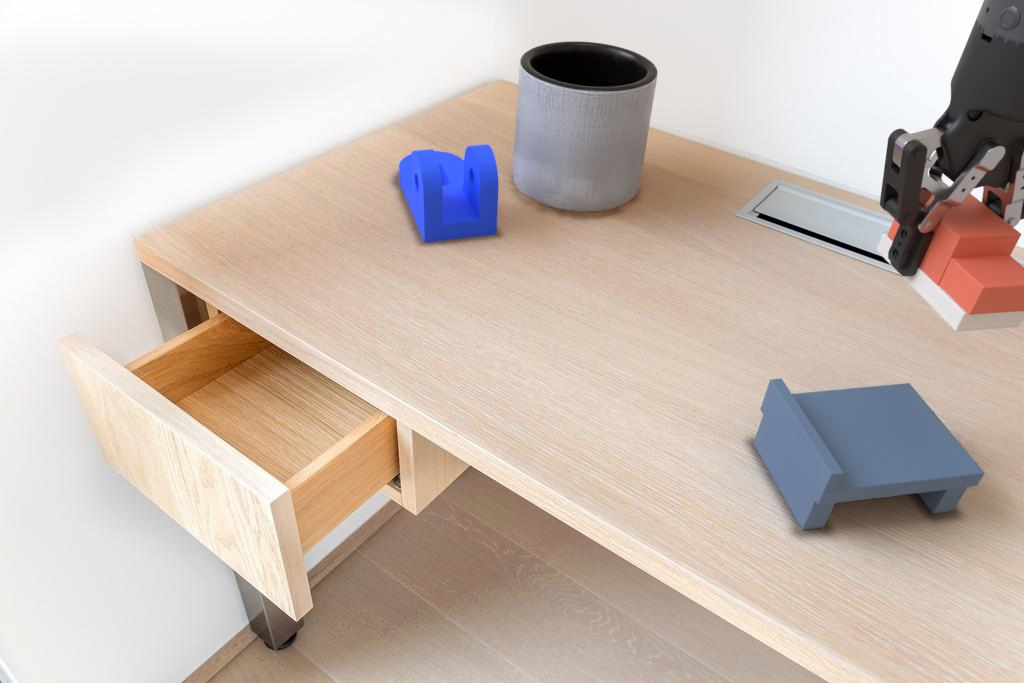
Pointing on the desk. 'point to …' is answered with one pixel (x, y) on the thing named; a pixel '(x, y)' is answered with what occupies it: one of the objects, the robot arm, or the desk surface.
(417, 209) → the bracket
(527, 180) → the planter
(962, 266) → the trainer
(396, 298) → the desk surface
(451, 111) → the desk surface
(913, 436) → the shoe shelf
